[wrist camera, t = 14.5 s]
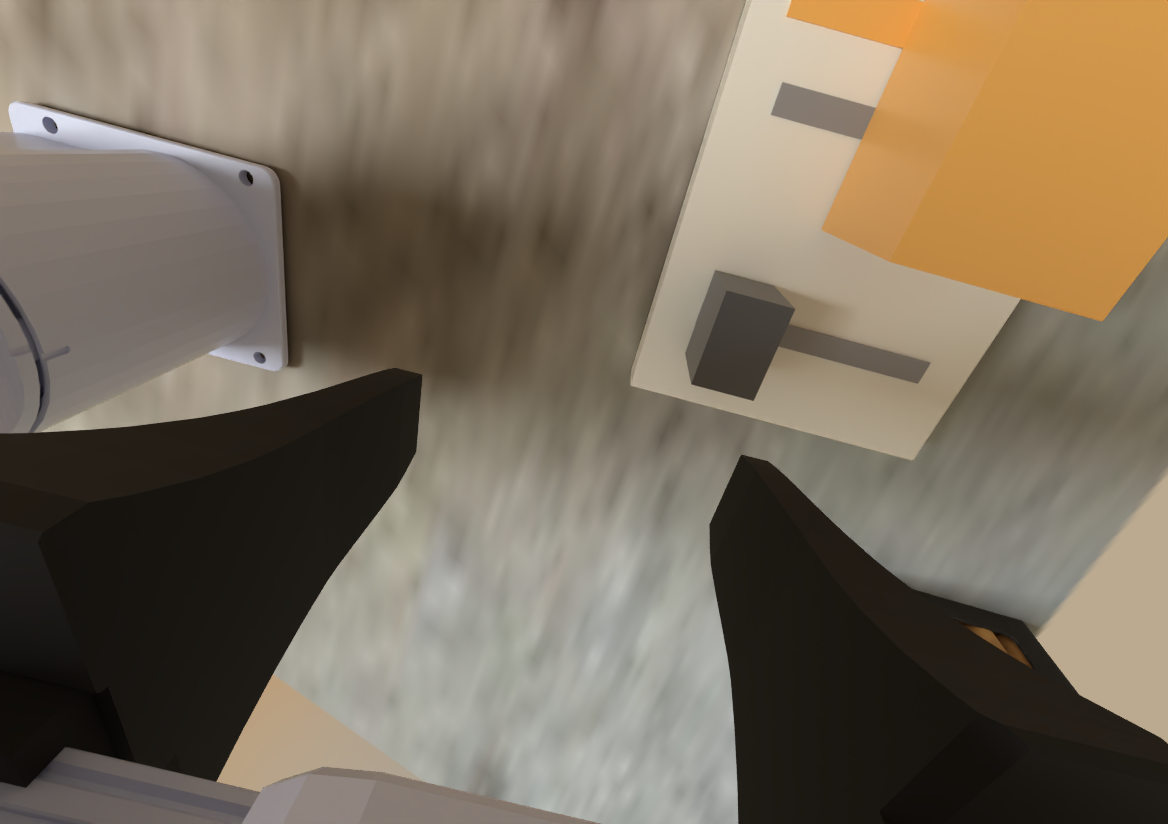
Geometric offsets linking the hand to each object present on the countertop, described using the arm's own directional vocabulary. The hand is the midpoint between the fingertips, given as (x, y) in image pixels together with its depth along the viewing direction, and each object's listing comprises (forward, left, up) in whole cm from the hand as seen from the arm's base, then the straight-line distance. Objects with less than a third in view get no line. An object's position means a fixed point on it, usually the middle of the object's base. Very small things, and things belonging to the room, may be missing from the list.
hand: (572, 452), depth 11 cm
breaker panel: (+7, +5, -9) cm, 13 cm away
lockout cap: (+8, +8, -8) cm, 14 cm away
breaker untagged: (+4, +2, -8) cm, 9 cm away
